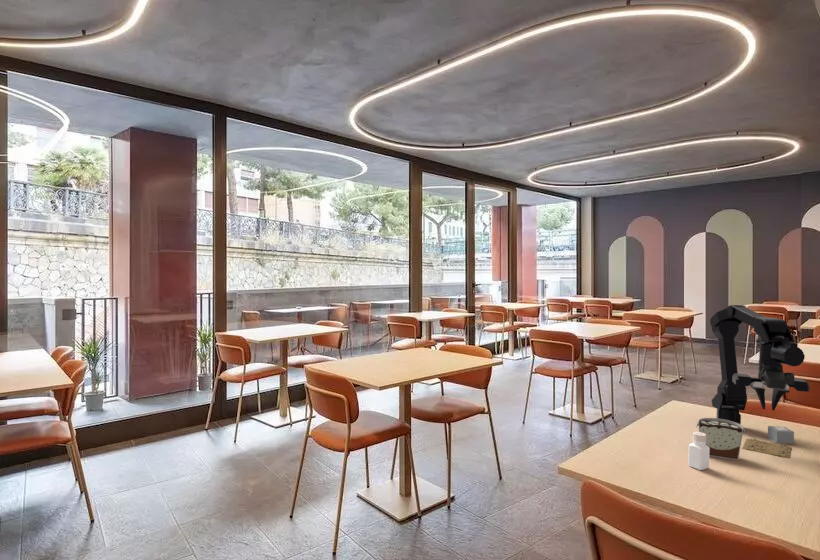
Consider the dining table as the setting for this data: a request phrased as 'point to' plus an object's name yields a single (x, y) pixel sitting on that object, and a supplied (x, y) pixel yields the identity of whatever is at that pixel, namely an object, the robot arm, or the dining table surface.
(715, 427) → the food container
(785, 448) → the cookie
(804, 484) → the dining table surface
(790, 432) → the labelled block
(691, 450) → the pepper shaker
